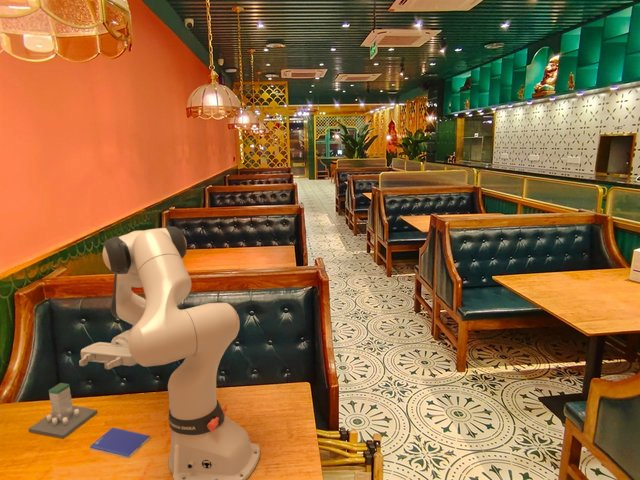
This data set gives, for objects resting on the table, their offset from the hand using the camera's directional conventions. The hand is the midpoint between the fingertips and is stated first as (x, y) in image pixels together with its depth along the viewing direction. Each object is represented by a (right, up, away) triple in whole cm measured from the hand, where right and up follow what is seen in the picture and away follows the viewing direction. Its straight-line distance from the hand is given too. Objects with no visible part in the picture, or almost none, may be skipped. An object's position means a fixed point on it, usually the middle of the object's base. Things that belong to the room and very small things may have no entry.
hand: (93, 365), depth 131 cm
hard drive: (+17, -16, -18) cm, 29 cm away
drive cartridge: (-4, -13, -9) cm, 16 cm away
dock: (-4, -14, -8) cm, 17 cm away
